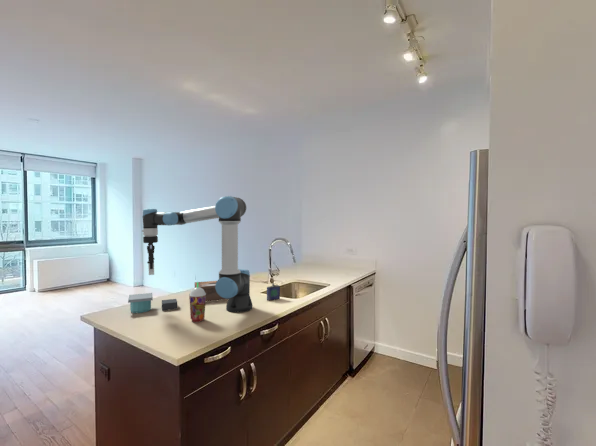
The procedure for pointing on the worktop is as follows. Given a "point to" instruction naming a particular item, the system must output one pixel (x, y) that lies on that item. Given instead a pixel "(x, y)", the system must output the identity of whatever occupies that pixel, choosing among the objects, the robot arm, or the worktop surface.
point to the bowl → (140, 306)
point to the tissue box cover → (210, 290)
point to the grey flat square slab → (140, 297)
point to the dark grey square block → (169, 304)
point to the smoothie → (197, 304)
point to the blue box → (273, 292)
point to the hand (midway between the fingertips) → (151, 272)
